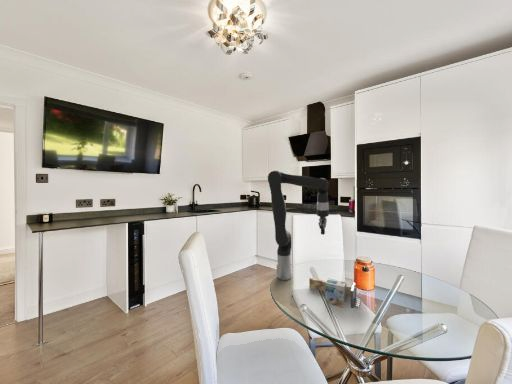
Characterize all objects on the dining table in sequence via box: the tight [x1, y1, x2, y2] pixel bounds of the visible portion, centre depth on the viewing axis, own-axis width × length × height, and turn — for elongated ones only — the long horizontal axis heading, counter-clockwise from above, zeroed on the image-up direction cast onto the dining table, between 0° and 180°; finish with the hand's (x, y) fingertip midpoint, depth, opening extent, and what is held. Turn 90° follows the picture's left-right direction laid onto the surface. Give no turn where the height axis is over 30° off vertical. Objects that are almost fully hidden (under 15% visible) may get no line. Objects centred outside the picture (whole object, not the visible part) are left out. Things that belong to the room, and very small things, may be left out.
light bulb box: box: [325, 278, 347, 304], centre depth 143 cm, size 11×7×11 cm, turn 60°
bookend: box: [350, 282, 361, 309], centre depth 138 cm, size 4×10×10 cm, turn 151°
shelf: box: [308, 277, 358, 308], centre depth 146 cm, size 28×14×6 cm, turn 61°
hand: (322, 234), depth 164 cm, fingers closed
